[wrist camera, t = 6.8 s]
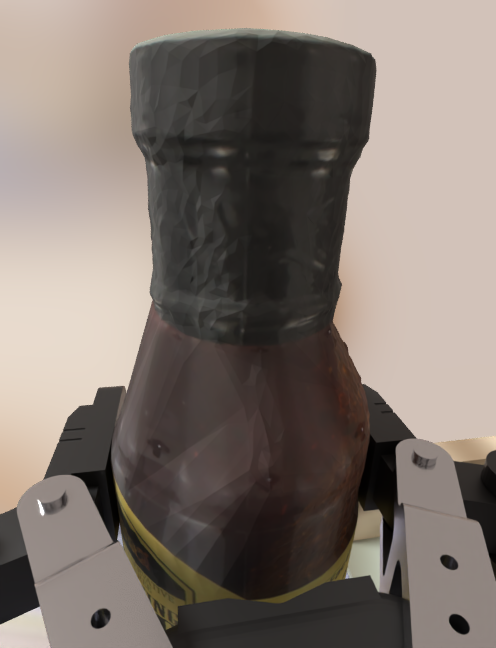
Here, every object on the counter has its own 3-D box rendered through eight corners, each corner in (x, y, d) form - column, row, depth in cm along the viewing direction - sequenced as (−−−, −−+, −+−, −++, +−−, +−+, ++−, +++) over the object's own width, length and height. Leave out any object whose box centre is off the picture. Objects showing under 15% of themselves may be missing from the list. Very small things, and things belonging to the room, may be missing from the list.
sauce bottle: (152, 612, 17) (90, 79, 9) (291, 588, 18) (339, 92, 11) (143, 853, 11) (-43, -43, 4) (350, 797, 12) (558, 14, 5)
